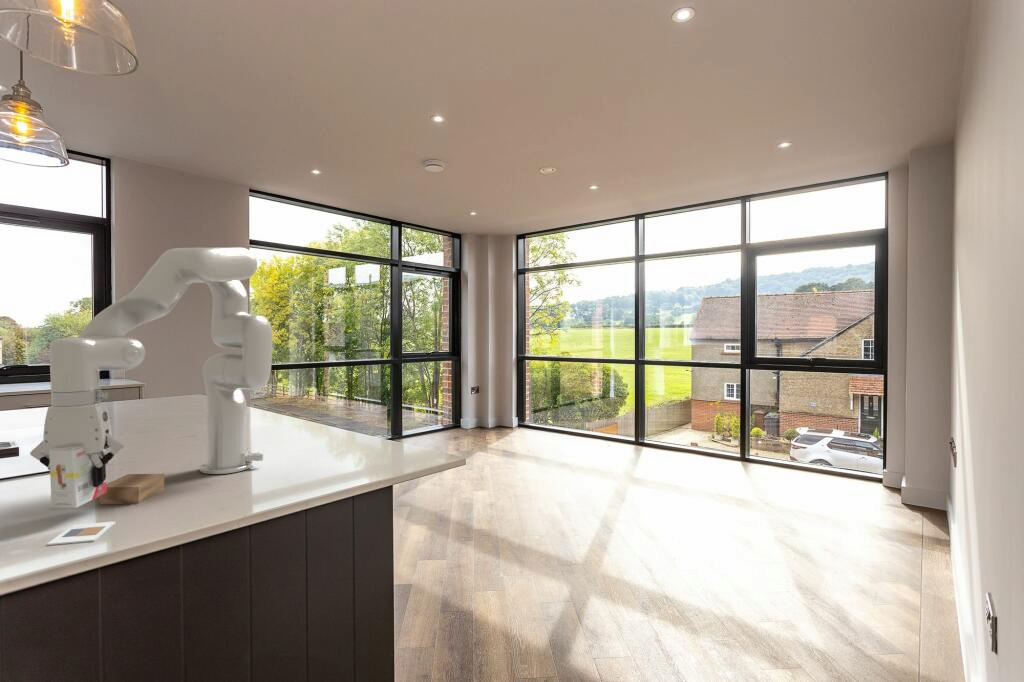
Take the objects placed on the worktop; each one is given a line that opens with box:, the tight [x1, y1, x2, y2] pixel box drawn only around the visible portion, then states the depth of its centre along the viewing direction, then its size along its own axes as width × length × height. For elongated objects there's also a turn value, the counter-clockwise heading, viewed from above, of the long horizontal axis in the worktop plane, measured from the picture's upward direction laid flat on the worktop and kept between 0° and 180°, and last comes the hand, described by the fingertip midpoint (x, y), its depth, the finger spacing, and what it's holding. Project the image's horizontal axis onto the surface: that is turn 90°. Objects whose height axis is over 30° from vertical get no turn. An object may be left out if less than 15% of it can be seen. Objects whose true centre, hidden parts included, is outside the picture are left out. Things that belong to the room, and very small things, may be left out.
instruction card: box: [46, 520, 117, 546], centre depth 96 cm, size 7×9×1 cm
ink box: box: [49, 446, 107, 509], centre depth 105 cm, size 9×5×12 cm, turn 3°
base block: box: [98, 473, 165, 505], centre depth 117 cm, size 8×10×4 cm
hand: (79, 485), depth 105 cm, fingers closed on ink box, 5 cm apart
